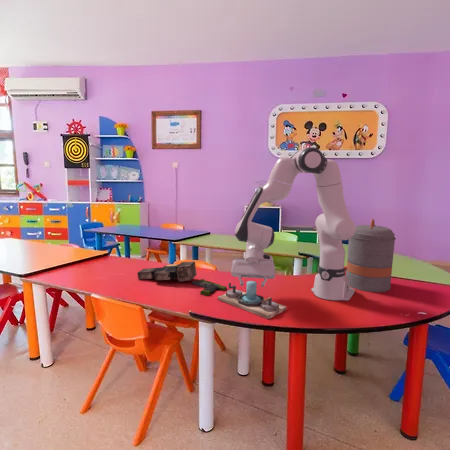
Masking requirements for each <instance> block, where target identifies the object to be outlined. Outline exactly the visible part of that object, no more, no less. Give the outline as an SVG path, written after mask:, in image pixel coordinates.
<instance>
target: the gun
mask: <svg viewBox="0 0 450 450" xmlns="http://www.w3.org/2000/svg"><path fill="white" fill-rule="evenodd" d="M191 284H192V285H193V286H197V287H199V288H203V289H201V290H200V291H199V293H200V295H201V296H206V297H207V296H210V295H212V294H213V293H214V292H215V291H223V292H224V291H226V290H228V287H227V286H225V285H222V284H219V283H215V282H212V281H208V280H205V279H204V278H202V279H201V278H200V279H199V280H193V281H192V280H191Z"/></svg>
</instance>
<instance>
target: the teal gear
mask: <svg viewBox="0 0 450 450" xmlns="http://www.w3.org/2000/svg"><path fill="white" fill-rule="evenodd" d="M257 286H258V284H257V282H256V280H255V281H254V280H248V281H246V289H245V290H246V291H245V293H246V296H245V295H244V296H243V298H242V301H243V302H245V303H259V302H261V298H259V297H258V296H256V295H257Z"/></svg>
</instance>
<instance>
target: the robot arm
mask: <svg viewBox="0 0 450 450" xmlns="http://www.w3.org/2000/svg"><path fill="white" fill-rule="evenodd" d="M300 173H304V174H313V176H314V179H315V184H316V192H317V194H316V195H317V200H318V205H319V207H320V208H321V210H322V213H321V214H319V215H318V216H317V217H316V219H315V228H316V230H317V235H318V241H319V264H318V267H317V273H316V274H315V277H314V282H313V283H314V284H313V287H311V289H310V291H311V292H312V293H313V294H314V295H315V296H316V297H318V298H320V299H323V300H326V301H350V300H351V298H352V297H353V295H354V294H355V292H356V290H355V288H352V287H350V279H349V278H348V277H347V276H346V270H347V265H345V257H346V250H345V247H344V245H343V241H349V239H350V238H352V237H353V236H354V234H355V231H356V226H357V225H356V224H355V222H354V221H353V219H352V218H351V215H350V212H349V210H348V207H347V204H346V201H345V195H344V190H343V189H344V188H343V182H342V181H343V180H342V175H341V171H340V167H339V165H338V163H337V161H336V160H333V159H327V157H325V155H324V154H323V152H322V151H321V150H320V149H319V148H317V147H313V146H311V147H303V148H301V149H300V150H297V151H296V152H294V153H293V154H292V155H291V157H290V158H289V157H287V156H286V157H285V156H284V157H280V158H278V159H277V160H276V162H275V163H274V166H273V167H272V170H271V172H270V174H269V177H268V180H267V181H266V184H264V185H263V186H262V187H259V188H258V189H257V190H256V191H255V192H254V194H253V196H252V197H251V199H250V201H249V203H248V205H247V207H246V209H245V211H244V213H243V214H242V216H241V218H240V220H239V221H238V223H237V224H236V226H235V229H234V235H235V237H236V239H237V240H238V241H239V242H243V243H245V247H246V249H245V254H244V257H240V258H239V257H235V258H233V259H232V260H231V270H230V275H231V276H232V277H233V278H238V280H239V286H244V283H245V282H244V280H242V278H247V279H248V278H250V279H253V278H254V279H263V281H261V282H260V284H261V285H260V287H261V288H265V285H266V283H267V281H268V279H269V280H274V279H275V278H276V266H275V263H274V258H273V256H272V255H270V254H267V253H264V251H265V250H266V249H268V248H270V247H271V246H272V245H273V244H274V243H275V236H276V235H275V231H274V229H273V228H272V227H271V226H269V225H264V224H262V223H261V224H260V223H256V222H254V221H253V218H254V217H255V214H256V213H257V211H258V209H259V207H260V206H261V205H263V204H265V203H271V202H272V203H273V202H274V203H275V202H279V201H282V200H285V199H286V198H287V197H288V196H289V195H290V193H291V190H292V187H293V184H294V182H295V181H294V180H295V179H296V177H297V176H298V175H299V174H300Z"/></svg>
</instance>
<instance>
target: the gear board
mask: <svg viewBox="0 0 450 450" xmlns="http://www.w3.org/2000/svg"><path fill="white" fill-rule="evenodd" d="M226 290H227V291H225V293H224V294H221V295H219V296H217V301H221V303H222V302H223V303H225V304H227V305H231V306H233V307H236V308H239V309H240V310H243V311H246V312H248V313H251V314H254V315H256V316H259V317H262V318H264V319H267V320H269V319H272V318H274V317H275V316H277V315H279V314H281V313H283V312H285V311H287V306H286V305H284V304H280V303H278V302H276V301H272V300H273V298H272V297H271V296H269V297H267V298H265V297H264V296H263V295H259V294H256V296H258V297H259V298H261V302H259V303H245V302H243V301H242V298H243V296H244V295H245V296H246V291H242V290H240V289H237V286H236V285H232V282H228V289H226Z"/></svg>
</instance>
